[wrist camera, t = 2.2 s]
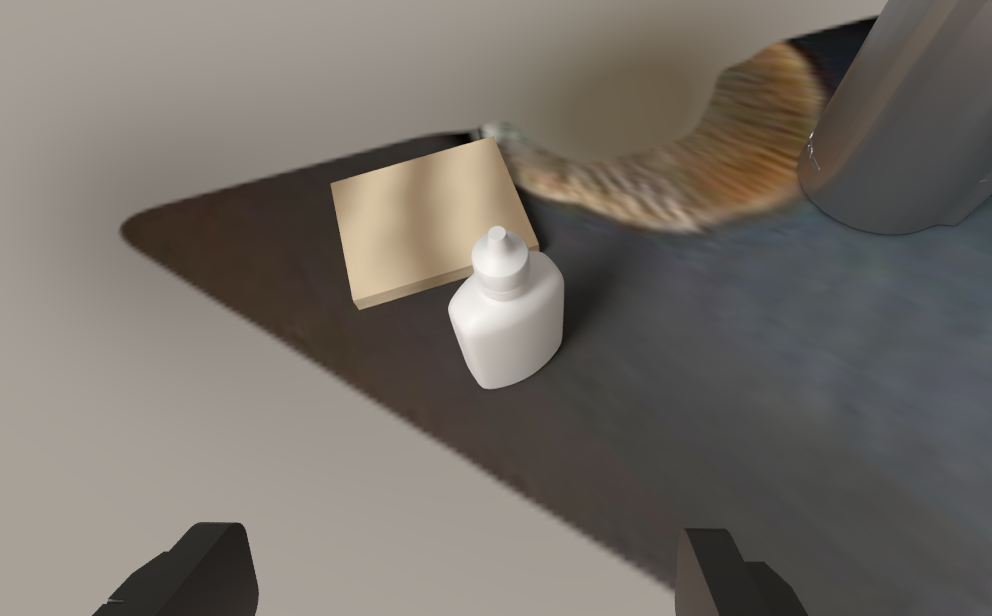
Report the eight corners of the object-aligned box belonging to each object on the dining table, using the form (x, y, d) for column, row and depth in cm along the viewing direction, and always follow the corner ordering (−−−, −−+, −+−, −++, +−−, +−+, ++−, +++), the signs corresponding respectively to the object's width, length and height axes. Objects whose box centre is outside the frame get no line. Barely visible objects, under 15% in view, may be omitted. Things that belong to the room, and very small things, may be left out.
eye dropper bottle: (466, 324, 32) (426, 196, 22) (558, 317, 32) (563, 182, 21) (468, 393, 30) (424, 287, 20) (567, 385, 30) (576, 274, 19)
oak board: (494, 148, 39) (493, 136, 38) (539, 255, 34) (538, 244, 33) (336, 194, 38) (330, 183, 37) (359, 310, 33) (353, 300, 32)
